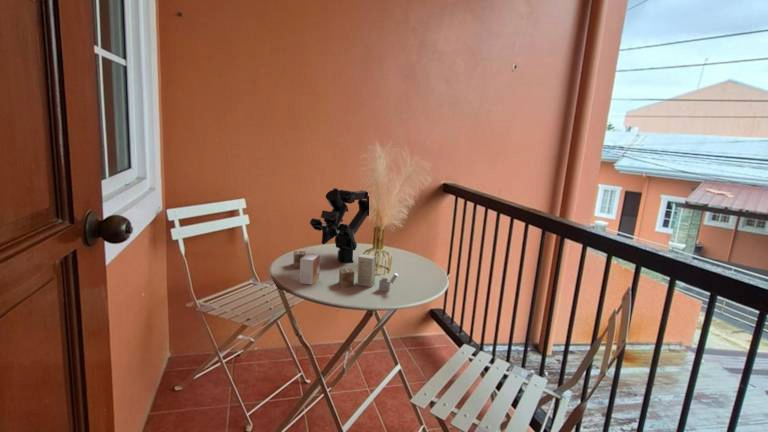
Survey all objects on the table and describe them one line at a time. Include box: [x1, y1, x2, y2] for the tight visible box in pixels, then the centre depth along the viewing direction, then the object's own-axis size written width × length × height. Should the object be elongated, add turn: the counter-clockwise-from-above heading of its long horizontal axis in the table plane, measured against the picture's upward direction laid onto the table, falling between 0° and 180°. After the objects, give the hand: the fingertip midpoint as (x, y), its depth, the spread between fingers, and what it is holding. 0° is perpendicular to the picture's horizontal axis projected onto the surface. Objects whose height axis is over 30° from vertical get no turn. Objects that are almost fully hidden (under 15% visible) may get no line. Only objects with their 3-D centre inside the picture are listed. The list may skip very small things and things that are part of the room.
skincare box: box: [357, 253, 376, 288], centre depth 161 cm, size 6×4×12 cm
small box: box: [299, 252, 321, 285], centre depth 161 cm, size 8×6×10 cm
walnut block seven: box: [293, 250, 307, 269], centre depth 177 cm, size 5×5×6 cm
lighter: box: [378, 272, 399, 293], centre depth 157 cm, size 7×2×8 cm, turn 75°
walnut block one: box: [338, 267, 355, 288], centre depth 160 cm, size 5×5×6 cm
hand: (322, 243), depth 167 cm, fingers closed
